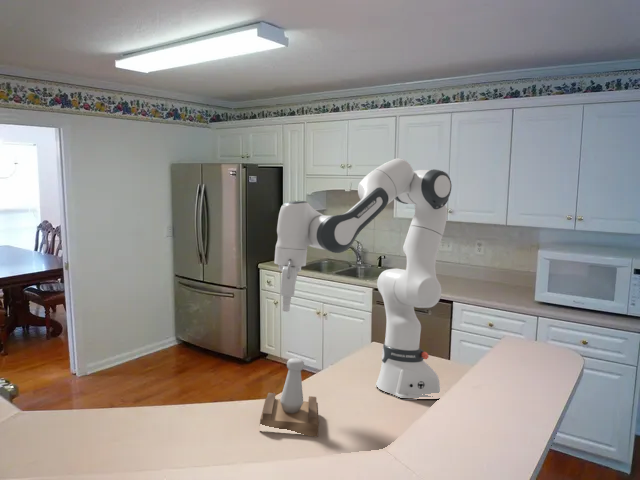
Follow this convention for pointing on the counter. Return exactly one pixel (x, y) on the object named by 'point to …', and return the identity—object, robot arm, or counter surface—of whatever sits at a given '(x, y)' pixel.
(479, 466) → the counter surface
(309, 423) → the display stand
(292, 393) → the salt shaker
